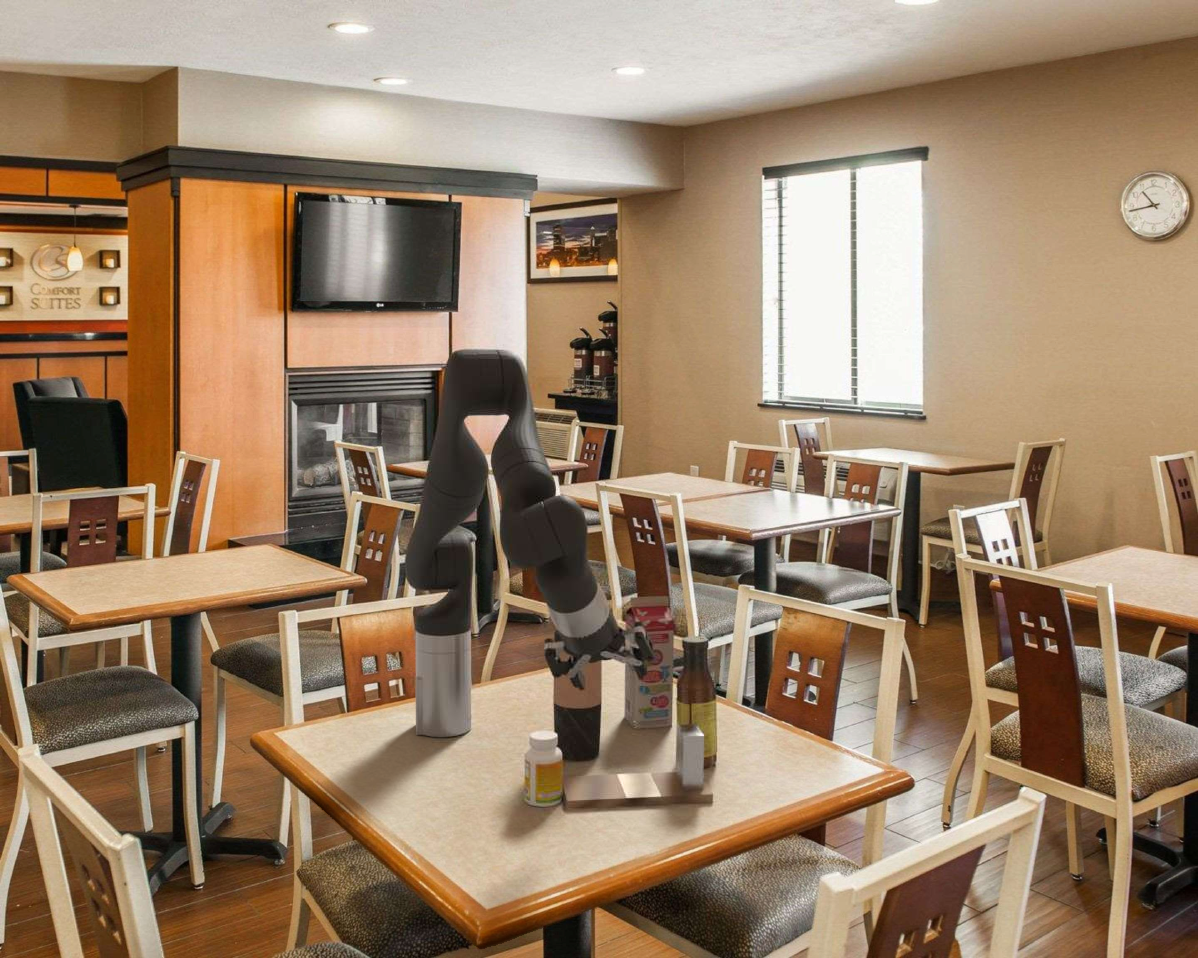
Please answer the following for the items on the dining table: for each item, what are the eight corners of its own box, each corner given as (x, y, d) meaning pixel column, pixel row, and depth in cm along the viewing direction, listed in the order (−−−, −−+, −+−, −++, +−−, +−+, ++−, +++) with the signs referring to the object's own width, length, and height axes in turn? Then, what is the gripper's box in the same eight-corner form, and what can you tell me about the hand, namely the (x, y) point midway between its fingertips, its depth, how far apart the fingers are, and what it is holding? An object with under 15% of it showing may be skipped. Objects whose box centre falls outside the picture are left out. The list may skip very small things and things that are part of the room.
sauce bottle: (722, 759, 182) (725, 636, 179) (708, 772, 176) (711, 646, 174) (683, 752, 185) (685, 631, 182) (669, 765, 179) (671, 640, 177)
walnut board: (566, 808, 162) (566, 800, 162) (560, 784, 171) (560, 776, 171) (712, 802, 165) (712, 793, 165) (698, 778, 174) (699, 770, 174)
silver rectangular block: (682, 789, 166) (683, 736, 165) (675, 776, 171) (676, 724, 170) (703, 788, 167) (704, 735, 166) (695, 775, 172) (696, 724, 171)
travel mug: (595, 763, 179) (596, 638, 177) (548, 759, 181) (548, 635, 178) (605, 747, 187) (606, 626, 184) (559, 743, 188) (560, 623, 186)
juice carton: (624, 716, 202) (625, 593, 199) (660, 713, 204) (662, 591, 201) (634, 729, 196) (636, 602, 193) (672, 726, 197) (674, 600, 194)
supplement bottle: (569, 798, 166) (570, 733, 165) (548, 810, 162) (548, 743, 160) (538, 790, 169) (539, 725, 168) (517, 802, 164) (517, 736, 163)
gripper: (632, 579, 151) (659, 648, 163) (528, 599, 153) (562, 666, 165) (635, 625, 146) (663, 693, 157) (528, 645, 148) (563, 711, 160)
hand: (611, 679), depth 161 cm, fingers open, 8 cm apart
